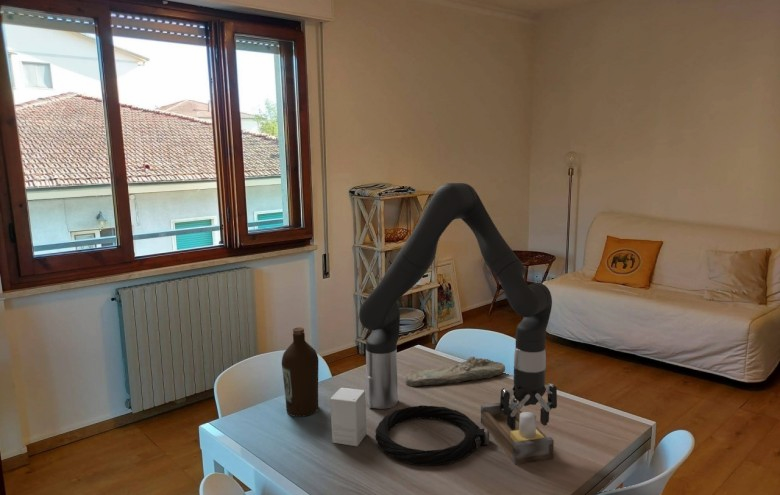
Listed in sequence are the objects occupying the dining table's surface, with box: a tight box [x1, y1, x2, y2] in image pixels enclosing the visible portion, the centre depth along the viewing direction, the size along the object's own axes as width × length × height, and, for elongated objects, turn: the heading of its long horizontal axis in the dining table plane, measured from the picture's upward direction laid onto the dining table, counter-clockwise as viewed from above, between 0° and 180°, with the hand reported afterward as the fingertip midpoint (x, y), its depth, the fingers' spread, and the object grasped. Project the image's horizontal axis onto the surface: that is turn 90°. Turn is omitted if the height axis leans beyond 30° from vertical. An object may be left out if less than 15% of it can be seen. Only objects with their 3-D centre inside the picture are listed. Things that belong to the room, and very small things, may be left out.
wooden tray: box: [480, 400, 555, 465], centre depth 147 cm, size 10×22×5 cm, turn 13°
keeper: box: [510, 411, 545, 442], centre depth 140 cm, size 7×5×8 cm
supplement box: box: [329, 387, 368, 447], centre depth 149 cm, size 7×7×13 cm
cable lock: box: [374, 405, 490, 466], centre depth 149 cm, size 28×4×30 cm
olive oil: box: [281, 327, 319, 418], centre depth 164 cm, size 11×11×25 cm
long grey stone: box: [405, 356, 506, 388], centre depth 187 cm, size 35×5×10 cm
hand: (527, 426), depth 140 cm, fingers open, 8 cm apart
